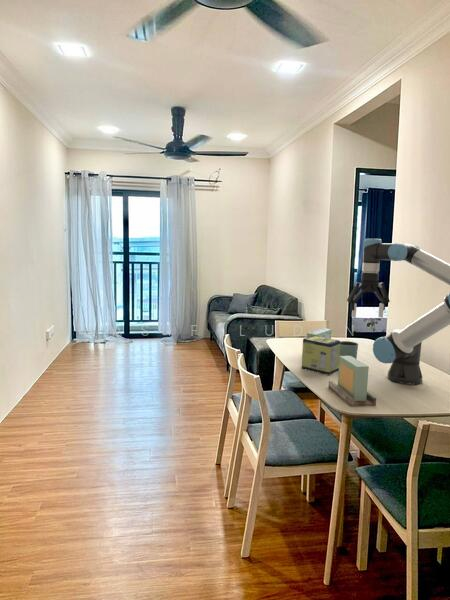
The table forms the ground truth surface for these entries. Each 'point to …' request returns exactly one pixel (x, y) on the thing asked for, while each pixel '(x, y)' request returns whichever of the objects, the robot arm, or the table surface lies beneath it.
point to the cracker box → (353, 377)
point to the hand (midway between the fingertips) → (367, 317)
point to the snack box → (321, 333)
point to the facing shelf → (348, 399)
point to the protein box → (320, 355)
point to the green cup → (348, 349)
